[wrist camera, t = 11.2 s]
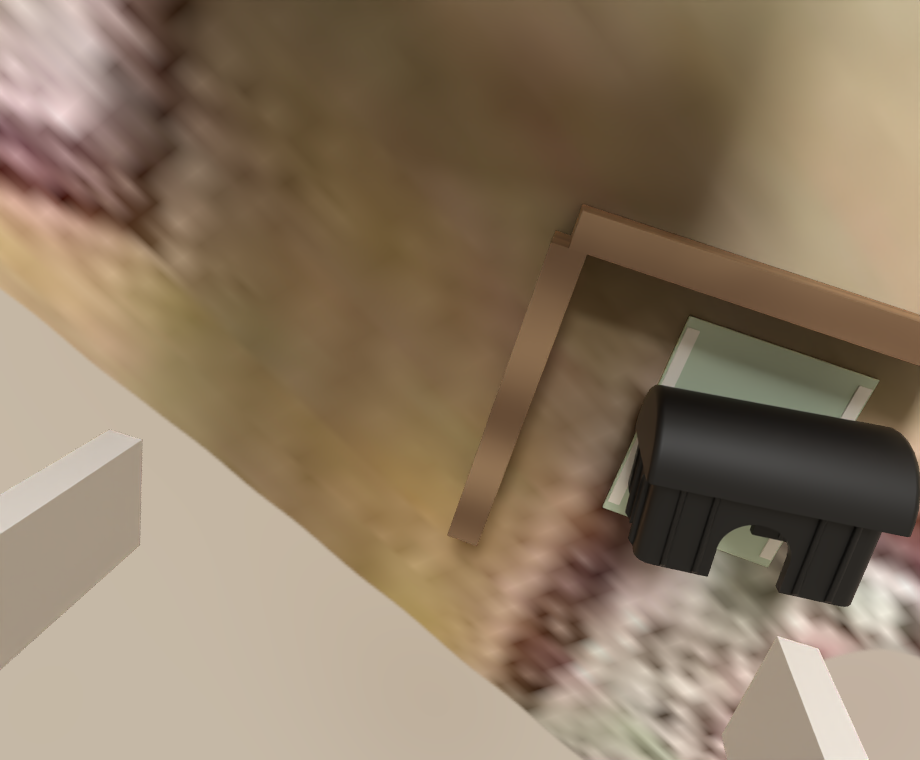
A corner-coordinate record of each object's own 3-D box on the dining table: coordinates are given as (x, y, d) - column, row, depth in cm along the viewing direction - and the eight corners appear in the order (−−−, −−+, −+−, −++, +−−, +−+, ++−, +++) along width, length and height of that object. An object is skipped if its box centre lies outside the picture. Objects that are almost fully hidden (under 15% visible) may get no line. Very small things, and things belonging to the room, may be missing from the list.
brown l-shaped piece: (567, 198, 29) (564, 204, 24) (950, 325, 27) (1025, 357, 23) (465, 485, 34) (447, 535, 30) (778, 600, 33) (810, 671, 29)
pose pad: (689, 315, 29) (690, 316, 29) (877, 379, 29) (880, 381, 28) (602, 505, 33) (602, 508, 33) (766, 565, 33) (768, 568, 32)
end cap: (866, 401, 29) (946, 467, 23) (816, 531, 31) (875, 623, 25) (648, 361, 30) (665, 413, 24) (615, 489, 33) (624, 566, 26)
